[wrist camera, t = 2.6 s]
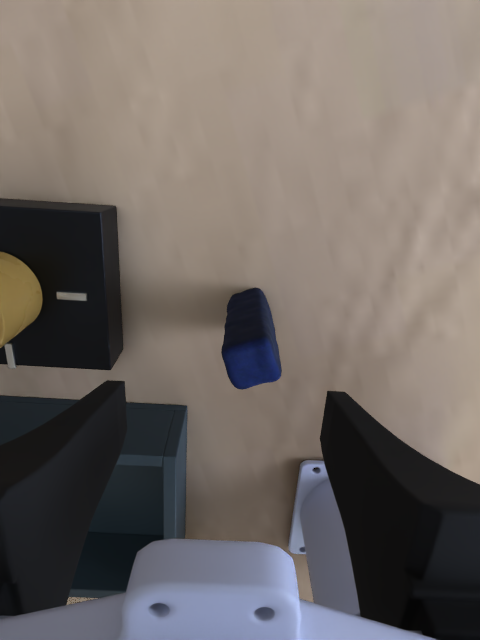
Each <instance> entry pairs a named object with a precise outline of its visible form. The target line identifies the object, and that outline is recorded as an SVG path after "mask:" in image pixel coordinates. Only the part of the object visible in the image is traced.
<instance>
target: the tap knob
mask: <svg viewBox="0 0 480 640" xmlns="http://www.w3.org/2000/svg"><path fill="white" fill-rule="evenodd" d="M42 300H43V299H42V290H41V287H40V284H39V282H38V280H37V278H36V276H35V275H34V273H33V272H32V271H31V269H30V268H29V267H28V266H27V265H26V264H24V263H23V262H22V261H21V260H19V259H18V258H16V257H14V256H12V255H10V254H7V253H4V252H0V348H1V347H3V346H4V345H5V344H6V343H8V342H9V341H10V340H11V339H12V338H14V337H15V336H16V335H17V334H19V333H20V332H21V331H22V330H24V329H25V328H26V327H27V326H28V325H30V324H31V323H32V322H33V321H34V320H35V319H36V318H37V316H38V315H39V313H40V310H41V307H42Z"/></svg>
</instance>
